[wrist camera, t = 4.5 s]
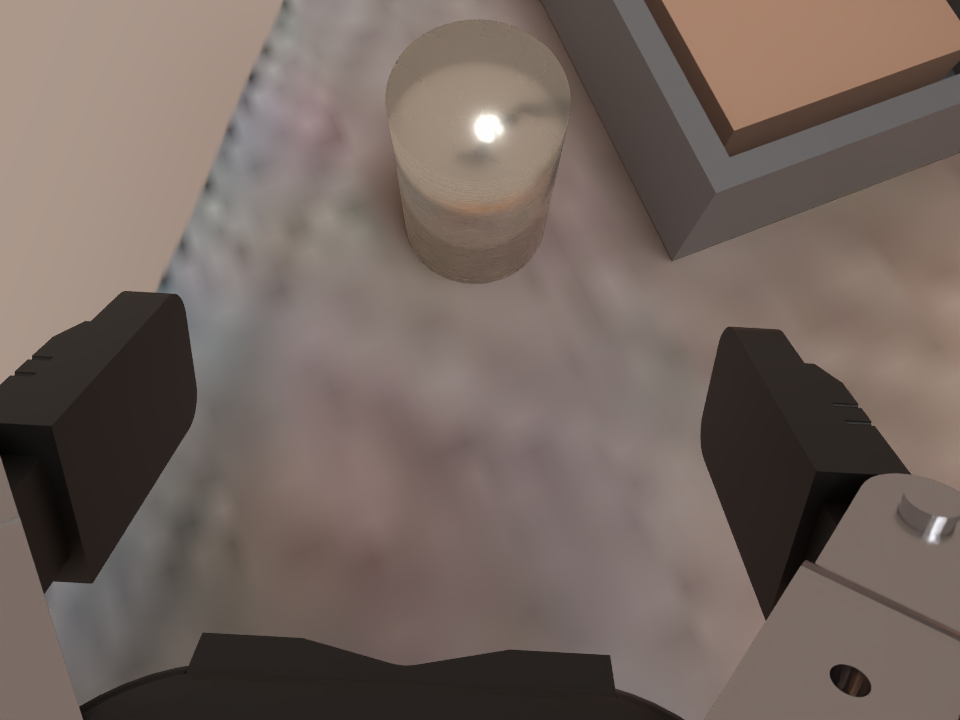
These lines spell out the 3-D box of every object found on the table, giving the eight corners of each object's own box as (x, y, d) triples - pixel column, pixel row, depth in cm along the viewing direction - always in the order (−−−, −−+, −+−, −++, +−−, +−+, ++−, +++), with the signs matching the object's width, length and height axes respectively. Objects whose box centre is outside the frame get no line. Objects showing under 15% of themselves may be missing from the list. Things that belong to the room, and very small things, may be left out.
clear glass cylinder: (512, 139, 32) (528, -3, 24) (566, 255, 30) (600, 144, 23) (385, 183, 31) (359, 52, 23) (435, 303, 30) (425, 206, 22)
